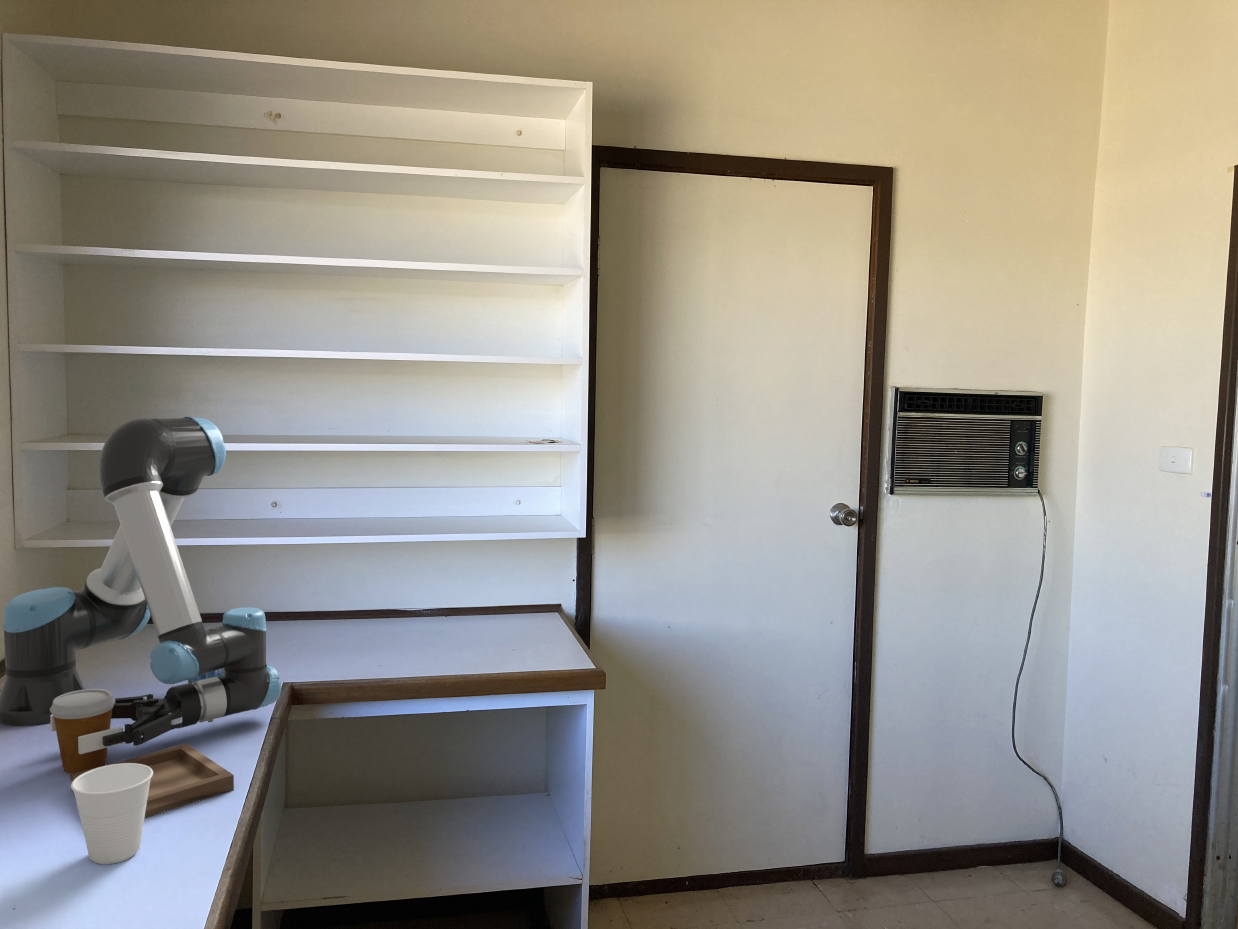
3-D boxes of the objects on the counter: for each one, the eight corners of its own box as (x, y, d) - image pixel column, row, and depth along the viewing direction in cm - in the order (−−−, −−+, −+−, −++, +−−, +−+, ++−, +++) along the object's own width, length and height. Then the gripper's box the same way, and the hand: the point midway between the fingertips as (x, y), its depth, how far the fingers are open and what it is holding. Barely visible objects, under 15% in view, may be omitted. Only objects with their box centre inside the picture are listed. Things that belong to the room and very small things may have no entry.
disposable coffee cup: (106, 776, 152) (104, 705, 151) (42, 780, 150) (39, 708, 149) (124, 753, 161) (122, 686, 160) (64, 757, 159) (62, 689, 158)
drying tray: (71, 789, 147) (70, 774, 146) (186, 757, 160) (186, 743, 160) (113, 828, 135) (112, 811, 134) (233, 789, 148) (233, 774, 148)
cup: (136, 829, 134) (134, 756, 133) (167, 852, 128) (166, 776, 127) (61, 855, 127) (58, 778, 126) (91, 881, 120) (88, 800, 119)
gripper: (225, 742, 160) (92, 778, 145) (166, 705, 177) (41, 735, 161) (225, 700, 160) (91, 732, 144) (165, 667, 176) (39, 693, 161)
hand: (64, 734), depth 153 cm, fingers open, 13 cm apart
